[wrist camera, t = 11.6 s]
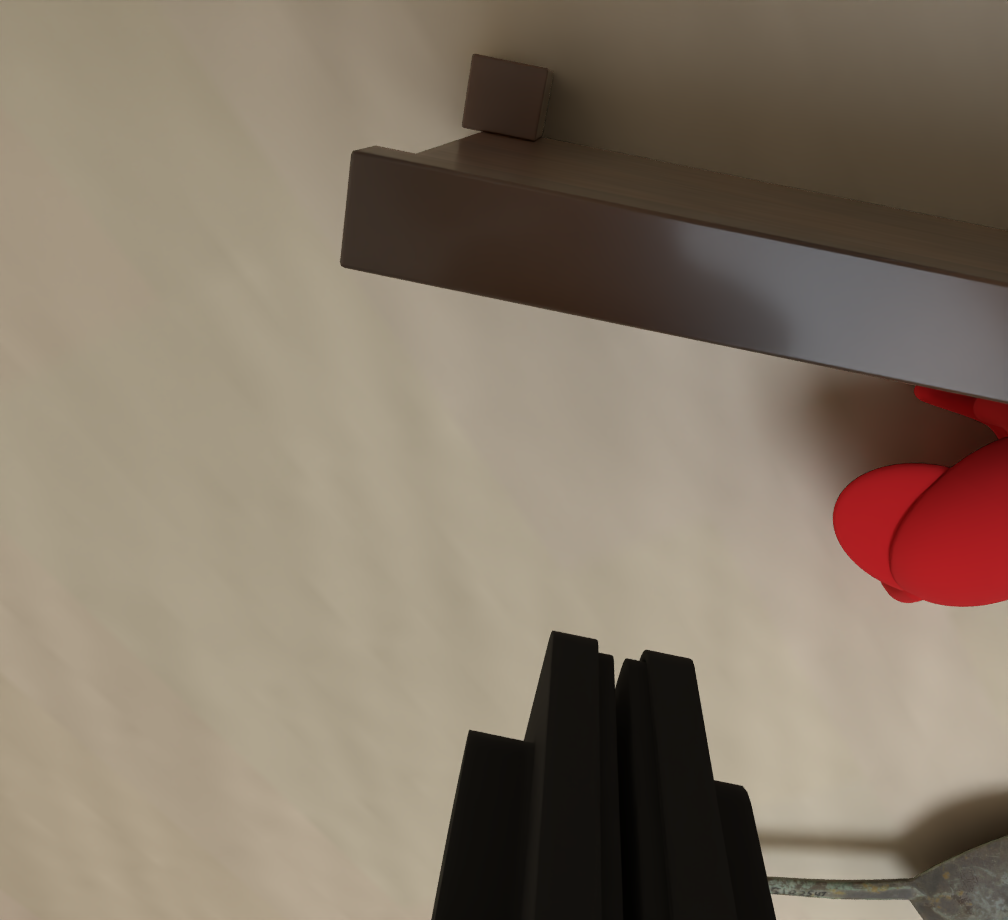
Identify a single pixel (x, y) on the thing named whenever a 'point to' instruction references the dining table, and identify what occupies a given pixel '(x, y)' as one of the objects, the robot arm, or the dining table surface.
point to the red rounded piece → (935, 518)
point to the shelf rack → (680, 247)
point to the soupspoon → (928, 886)
